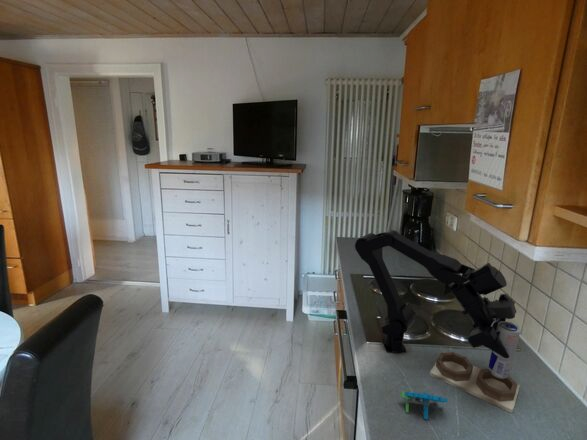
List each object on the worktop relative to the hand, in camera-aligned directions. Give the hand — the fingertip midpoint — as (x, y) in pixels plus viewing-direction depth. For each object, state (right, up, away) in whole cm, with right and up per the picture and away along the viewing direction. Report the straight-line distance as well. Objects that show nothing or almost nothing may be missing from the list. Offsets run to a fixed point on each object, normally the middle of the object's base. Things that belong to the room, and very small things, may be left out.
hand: (509, 352), depth 91 cm
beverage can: (-1, -7, +3) cm, 8 cm away
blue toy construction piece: (-23, -14, -1) cm, 28 cm away
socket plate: (-5, -11, +8) cm, 15 cm away
